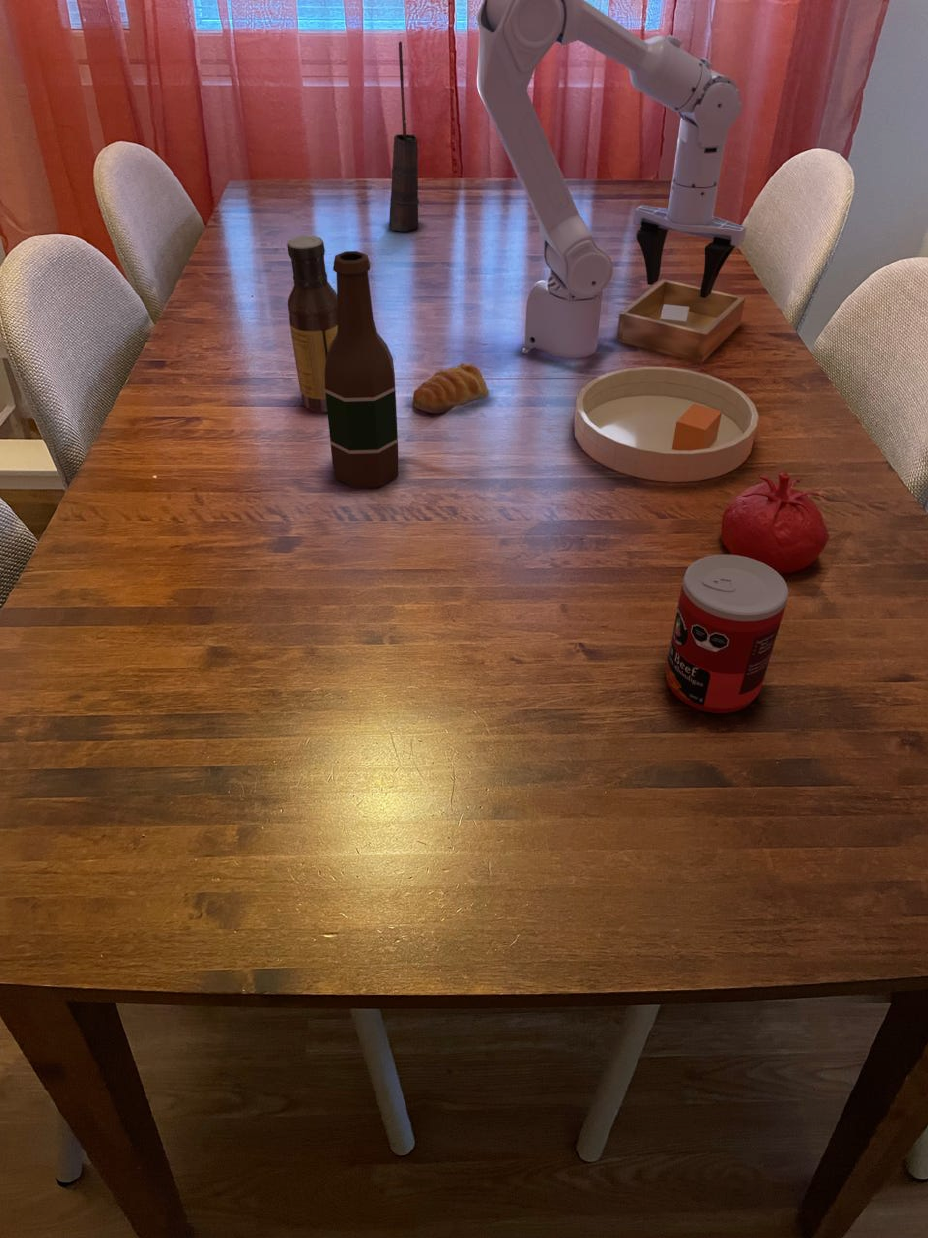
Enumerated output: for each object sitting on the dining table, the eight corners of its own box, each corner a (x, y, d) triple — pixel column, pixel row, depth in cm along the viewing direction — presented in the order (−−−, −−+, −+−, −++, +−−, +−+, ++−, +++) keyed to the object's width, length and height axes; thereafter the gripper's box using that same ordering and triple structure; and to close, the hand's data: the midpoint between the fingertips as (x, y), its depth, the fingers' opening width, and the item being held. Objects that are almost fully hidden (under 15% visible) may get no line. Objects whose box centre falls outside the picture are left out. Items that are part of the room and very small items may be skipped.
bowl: (542, 454, 109) (544, 419, 106) (619, 385, 122) (623, 352, 119) (710, 509, 100) (718, 473, 97) (774, 428, 113) (782, 394, 110)
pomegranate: (762, 599, 89) (784, 518, 83) (695, 543, 96) (712, 464, 90) (841, 570, 93) (867, 489, 86) (771, 517, 99) (792, 439, 93)
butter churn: (432, 238, 162) (429, 50, 144) (377, 238, 162) (366, 50, 144) (434, 220, 169) (431, 39, 151) (381, 219, 169) (372, 38, 151)
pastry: (433, 423, 114) (432, 394, 112) (400, 403, 118) (399, 374, 116) (492, 400, 118) (493, 372, 116) (459, 381, 122) (459, 353, 120)
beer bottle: (412, 460, 108) (404, 246, 92) (385, 496, 102) (372, 275, 86) (349, 448, 110) (331, 237, 94) (320, 483, 104) (295, 264, 88)
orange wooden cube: (671, 448, 108) (676, 421, 106) (688, 430, 111) (693, 403, 109) (700, 457, 106) (705, 429, 104) (716, 438, 110) (722, 411, 107)
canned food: (654, 655, 83) (673, 555, 76) (743, 650, 84) (770, 550, 77) (676, 719, 77) (699, 617, 70) (771, 713, 78) (803, 612, 71)
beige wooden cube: (656, 342, 130) (660, 318, 128) (660, 328, 133) (664, 303, 131) (682, 345, 129) (686, 321, 127) (685, 330, 133) (689, 306, 130)
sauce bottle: (344, 387, 121) (330, 227, 108) (357, 409, 117) (343, 246, 104) (294, 395, 119) (274, 234, 106) (306, 418, 115) (286, 253, 102)
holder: (615, 341, 131) (619, 312, 129) (658, 305, 141) (662, 278, 138) (701, 363, 126) (706, 334, 124) (740, 325, 136) (745, 297, 133)
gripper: (762, 182, 117) (741, 290, 126) (655, 163, 123) (642, 267, 132) (741, 197, 113) (720, 308, 122) (631, 176, 119) (619, 283, 128)
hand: (678, 288), depth 127 cm, fingers open, 7 cm apart
